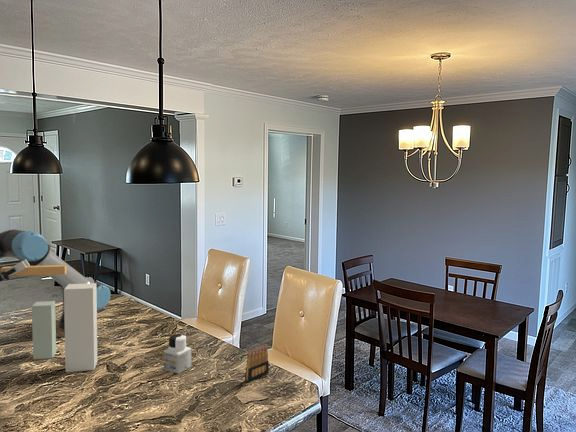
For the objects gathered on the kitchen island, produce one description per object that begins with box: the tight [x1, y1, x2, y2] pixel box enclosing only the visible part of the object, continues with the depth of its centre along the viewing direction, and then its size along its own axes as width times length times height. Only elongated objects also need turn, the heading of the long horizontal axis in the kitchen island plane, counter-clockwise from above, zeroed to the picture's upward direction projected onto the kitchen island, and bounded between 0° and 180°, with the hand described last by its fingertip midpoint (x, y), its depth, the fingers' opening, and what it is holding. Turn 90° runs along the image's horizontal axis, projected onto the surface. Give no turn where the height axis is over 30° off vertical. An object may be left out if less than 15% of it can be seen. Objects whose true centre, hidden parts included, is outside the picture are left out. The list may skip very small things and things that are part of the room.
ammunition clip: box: [244, 343, 270, 383], centre depth 164 cm, size 11×2×12 cm, turn 138°
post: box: [64, 283, 98, 373], centre depth 168 cm, size 8×10×32 cm
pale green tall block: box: [31, 300, 57, 360], centre depth 177 cm, size 6×7×22 cm
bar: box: [0, 265, 67, 277], centre depth 162 cm, size 3×21×3 cm, turn 105°
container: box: [163, 333, 192, 375], centre depth 170 cm, size 8×8×13 cm
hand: (26, 263), depth 161 cm, fingers closed on bar, 3 cm apart
